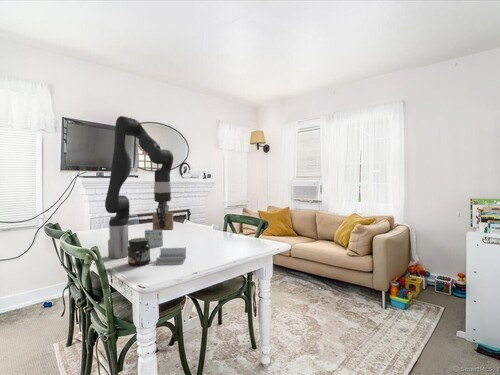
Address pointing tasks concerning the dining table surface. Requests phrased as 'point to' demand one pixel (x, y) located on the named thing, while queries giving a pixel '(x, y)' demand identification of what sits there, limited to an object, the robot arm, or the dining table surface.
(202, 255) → the dining table surface
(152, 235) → the light bulb box
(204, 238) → the dining table surface
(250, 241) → the dining table surface
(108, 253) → the robot arm
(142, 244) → the supplement container
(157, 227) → the brown rectangular block
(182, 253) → the grey channel holder
